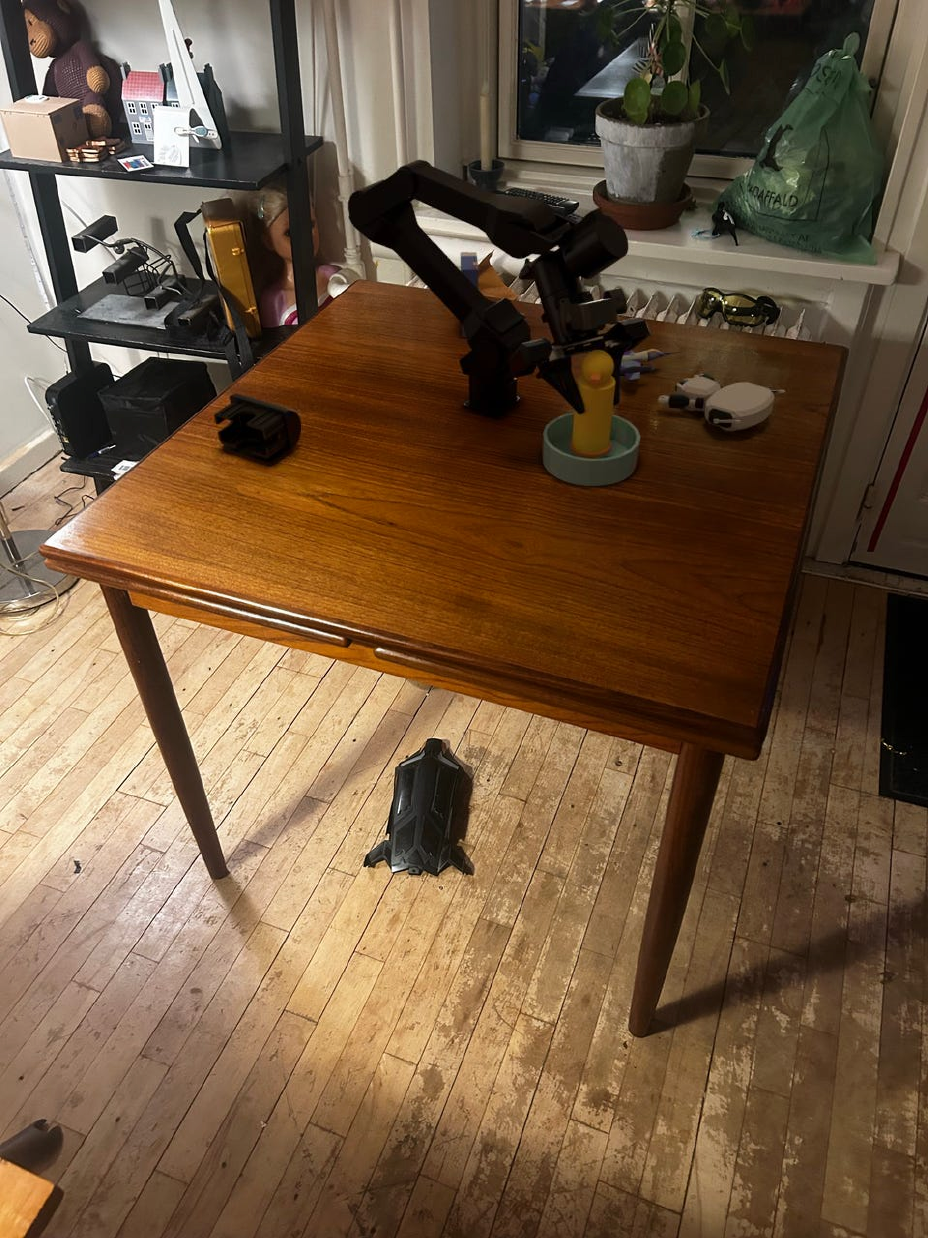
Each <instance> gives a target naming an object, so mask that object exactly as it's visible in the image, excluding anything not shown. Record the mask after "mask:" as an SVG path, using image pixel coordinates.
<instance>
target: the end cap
mask: <svg viewBox="0 0 928 1238" xmlns="http://www.w3.org/2000/svg"><path fill="white" fill-rule="evenodd" d="M229 401H230V404H228V405H225V407H223V408H222V409H220V410H218V411H216V412H215V413H214V414H213V417H214V423H215V425H217V426H218V425H220V424H221V423H223V422H224V421H225V420H226V421H230V422H229V423H228V424H227V425H226V426H224V427H223V428H222V429H220V430H218V431H217V436H218V440H219V442H220V444H222V451H223V452H225V453H228V454H231V455H233V456H237V457H240V458H243V459H246V460H249V461H252V462H255V463H257V464H261V465H264V466H267V467H273V466H275V465H276V464H278V463H279V462H280V461H281V460H283V459H284V458H286V457H288V456H289V455H290V453H291V452H292V451H293V449H294V448H295V447H296V445H297V444H298V442H299V440H300V437H301V433H302V421H301V417H300V415H299V413H298V412H297V411H296V410H294V409H292V408H288V407H285V406H281V405H278V404H275V403H271V402H268V401H265V400H262V399H258V398H255V397H251V396H248V395H245V394H241V393H233V394H230V395H229Z"/></svg>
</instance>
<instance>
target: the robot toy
mask: <svg viewBox="0 0 928 1238" xmlns="http://www.w3.org/2000/svg"><path fill="white" fill-rule="evenodd" d="M674 391H675V393H670V395H669V396H668V395H660V396H659V397H658V399H657V403H658V404H659V405H668V408H669V409H678V410H679V409H683V408H684V409H685V410H687V411H691V412H694V411H698V412H703V413H704V419H705V420H706V421H707V422H708V423H709V424H710V425H713V426H717V427H719V428H720V429H722V430H724V431H726V432H735V431H741V430H747V429H748V428H752V427H754V426H756V425H758V424H760V423H762V422H764V421H765V420H766V419H767V418H768V417H769V416H770V415H771V413H772V412H773V409H774V403H775V393H777V394H778V393H779V394H783V393H785V392H786V390H784V389H770V388H768V387H765V386H761V385H758V384H755V383H751V382H748V381H746V382H735V383H731V384H729V385H726V386H723V385H721V384H720V383H719V382H717V381H715V378H714V377H713V376H712V375H711V374H709V373H698V374H695V375H694V376H693V377H691V378H690V377H688V378H683V380H682V381H679V382H677V383H676V384H675V387H674Z"/></svg>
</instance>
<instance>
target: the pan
mask: <svg viewBox="0 0 928 1238" xmlns="http://www.w3.org/2000/svg"><path fill="white" fill-rule="evenodd" d="M573 425H574V412H569V413H564V414H563V415H560V416H558V417H555V418H554V419H552V420H551V421H550V422H548V423H547V424H546V425H545V427H544V430H543V433H542V450H541V451H542V452H541V455H542V464H543V466H544V468H545V469H546V471H548V473H550V474H551V475H552V476H553V477H555V478H557V479H559V480H560V481H563V482H566V483H569V484H572V485H577V486H585V487H600V486H603V487H604V486H609V485H613V484H617V483H619V482H622V481H624V480H625V479H627V478H629V477H630V476H631V475H632V474H633V473H634V472H635V470H636V469H637V465H638V460H639V454H640V453H639V452H640V446H641V435H640V432H639V429H638V428H637V427H636V426H635V425H634V424H633V423H632V422H631V421H629V420H628V419H625V418H623V417H621V416H619V415H615V414H612V420H611V430H610V439H609V441H610V442H611V450H610V452H609V453H608V454H606V455H604V456H602V457H598V458H586V457H581V456H578V455H576V454H575V453H573V452H572V451H571V449H570V441H571V439H572V438H573Z"/></svg>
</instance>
